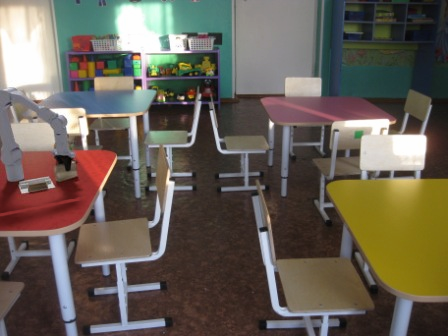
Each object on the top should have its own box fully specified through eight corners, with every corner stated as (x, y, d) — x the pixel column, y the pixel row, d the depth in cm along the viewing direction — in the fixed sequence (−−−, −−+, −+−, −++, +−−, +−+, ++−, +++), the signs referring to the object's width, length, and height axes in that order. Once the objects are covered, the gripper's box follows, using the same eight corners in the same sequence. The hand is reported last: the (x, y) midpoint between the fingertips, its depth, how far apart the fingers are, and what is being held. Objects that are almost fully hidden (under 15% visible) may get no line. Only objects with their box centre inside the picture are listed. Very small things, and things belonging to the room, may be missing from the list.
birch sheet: (55, 180, 215) (53, 166, 213) (73, 174, 223) (71, 161, 221) (60, 181, 213) (58, 167, 211) (77, 175, 221) (75, 161, 219)
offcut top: (28, 186, 204) (28, 183, 204) (45, 183, 208) (44, 180, 207) (29, 188, 202) (29, 185, 201) (46, 185, 205) (45, 182, 205)
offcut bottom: (28, 189, 205) (27, 186, 204) (47, 186, 208) (46, 183, 208) (28, 191, 202) (28, 188, 202) (48, 188, 206) (47, 185, 205)
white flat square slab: (18, 186, 212) (17, 181, 212) (50, 181, 219) (49, 175, 218) (22, 196, 201) (21, 190, 200) (55, 189, 207) (54, 184, 206)
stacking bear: (79, 162, 247) (74, 129, 241) (61, 167, 240) (56, 133, 234) (68, 158, 254) (64, 127, 248) (51, 163, 247) (46, 130, 241)
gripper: (44, 142, 213) (48, 170, 218) (65, 146, 206) (69, 175, 210) (57, 138, 219) (61, 166, 223) (77, 142, 211) (81, 170, 216)
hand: (65, 170), depth 217 cm, fingers closed on birch sheet, 3 cm apart
